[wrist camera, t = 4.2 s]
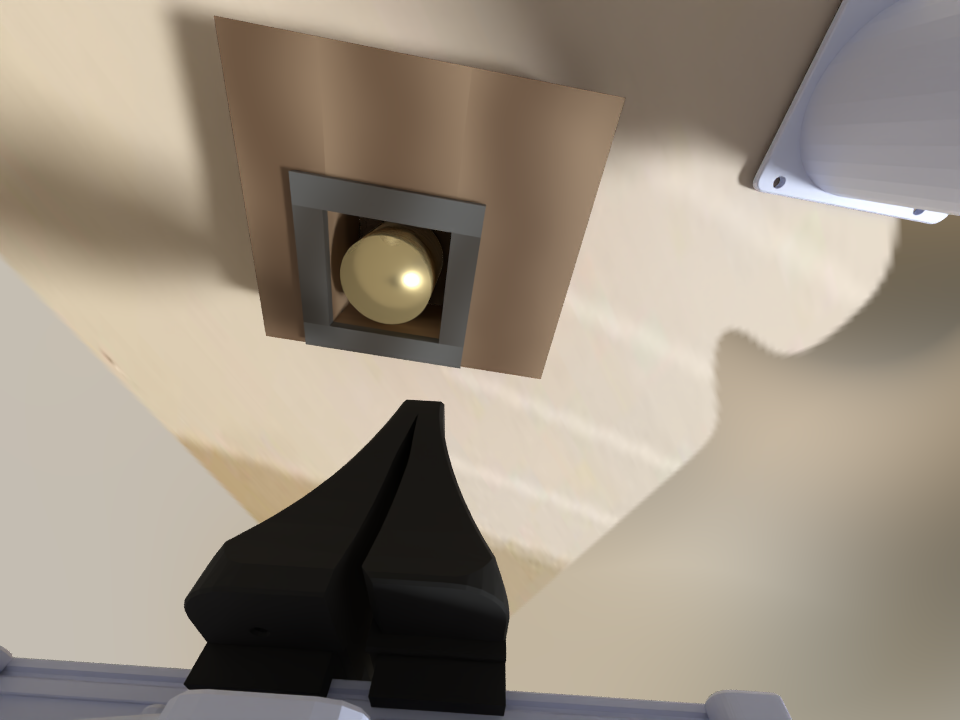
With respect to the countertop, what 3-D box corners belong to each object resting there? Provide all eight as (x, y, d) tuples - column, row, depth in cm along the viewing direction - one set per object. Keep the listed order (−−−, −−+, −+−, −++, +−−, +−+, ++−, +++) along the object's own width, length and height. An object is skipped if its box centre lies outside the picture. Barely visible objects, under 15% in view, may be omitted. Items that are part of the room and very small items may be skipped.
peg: (447, 224, 19) (435, 244, 15) (439, 297, 21) (427, 330, 17) (369, 211, 18) (338, 228, 15) (368, 285, 20) (341, 316, 17)
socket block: (597, 107, 16) (629, 96, 12) (533, 342, 22) (541, 384, 18) (276, 43, 15) (203, 10, 12) (302, 304, 22) (260, 340, 18)
